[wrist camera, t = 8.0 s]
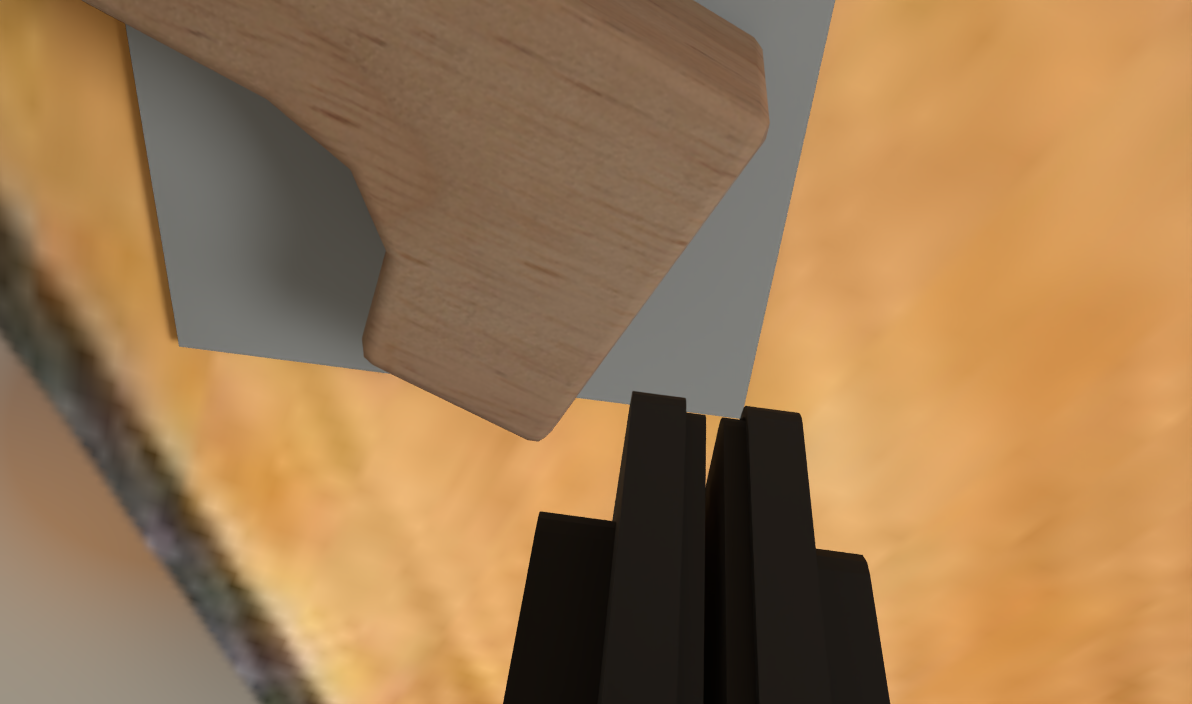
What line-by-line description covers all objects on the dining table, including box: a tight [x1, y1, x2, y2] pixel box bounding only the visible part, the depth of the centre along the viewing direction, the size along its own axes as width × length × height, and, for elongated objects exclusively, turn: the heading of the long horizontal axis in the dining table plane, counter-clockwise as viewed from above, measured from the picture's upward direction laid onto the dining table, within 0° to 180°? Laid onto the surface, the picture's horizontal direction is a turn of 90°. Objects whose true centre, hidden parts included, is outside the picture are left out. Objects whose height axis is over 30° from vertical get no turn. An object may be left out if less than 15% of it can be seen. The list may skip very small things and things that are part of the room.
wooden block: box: [82, 0, 770, 441], centre depth 21 cm, size 9×4×18 cm
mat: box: [125, 0, 835, 419], centre depth 23 cm, size 15×20×1 cm
